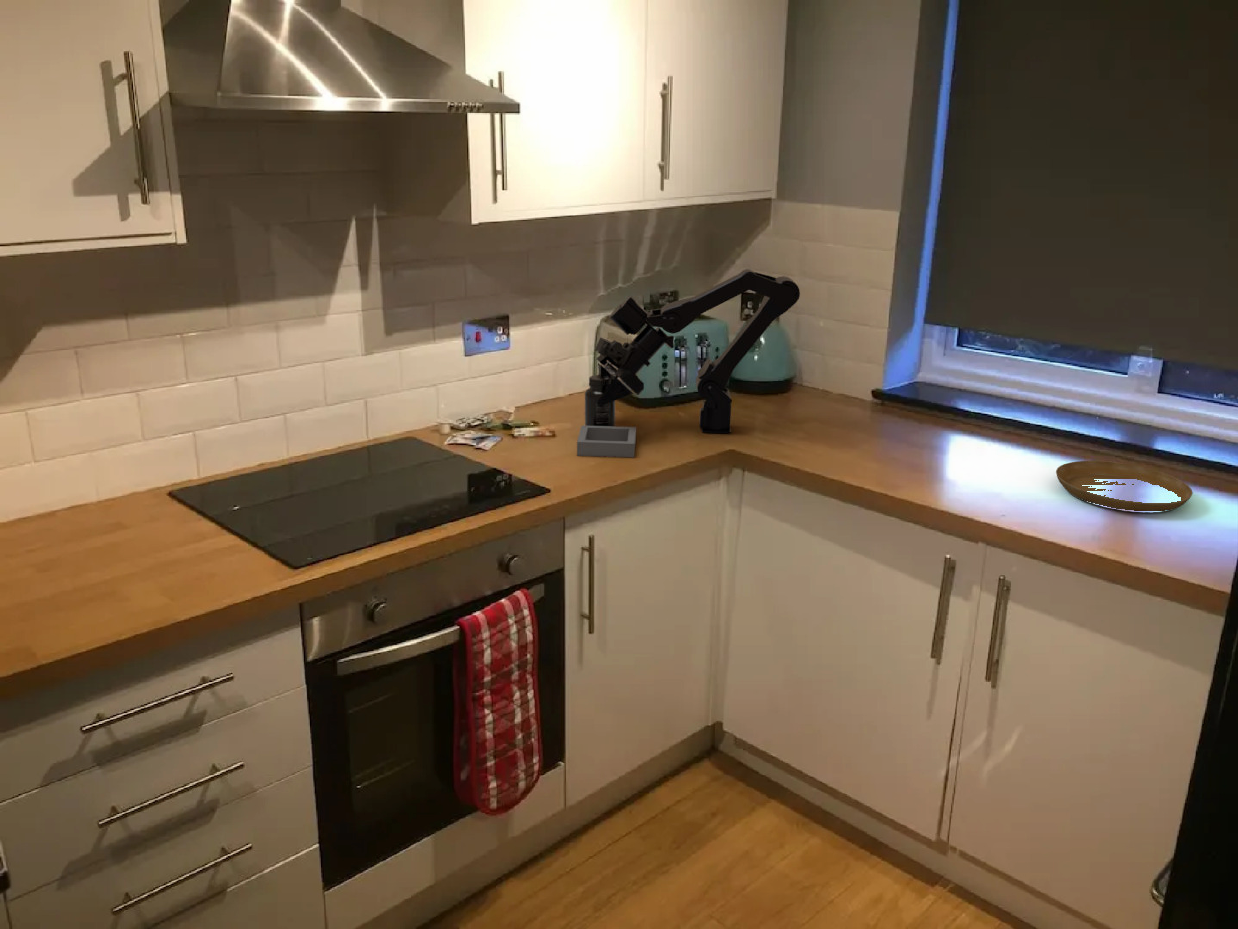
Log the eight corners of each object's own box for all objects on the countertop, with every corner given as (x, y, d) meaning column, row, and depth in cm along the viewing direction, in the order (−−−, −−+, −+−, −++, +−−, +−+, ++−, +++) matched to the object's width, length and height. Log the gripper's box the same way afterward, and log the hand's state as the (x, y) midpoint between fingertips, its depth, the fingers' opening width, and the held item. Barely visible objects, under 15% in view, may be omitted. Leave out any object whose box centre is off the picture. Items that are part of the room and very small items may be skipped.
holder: (635, 440, 231) (636, 427, 230) (634, 457, 219) (634, 443, 218) (581, 438, 231) (581, 425, 230) (576, 455, 220) (577, 441, 219)
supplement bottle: (619, 426, 238) (620, 375, 234) (608, 435, 232) (609, 382, 228) (591, 422, 240) (591, 372, 236) (580, 431, 234) (580, 379, 230)
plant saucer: (1193, 490, 208) (1196, 474, 207) (1184, 528, 188) (1188, 511, 187) (1064, 468, 219) (1066, 453, 218) (1043, 502, 200) (1046, 486, 199)
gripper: (605, 317, 238) (558, 367, 239) (630, 333, 221) (580, 388, 222) (637, 349, 243) (592, 398, 243) (664, 367, 226) (615, 420, 226)
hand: (594, 400), depth 234 cm, fingers closed on supplement bottle, 7 cm apart
